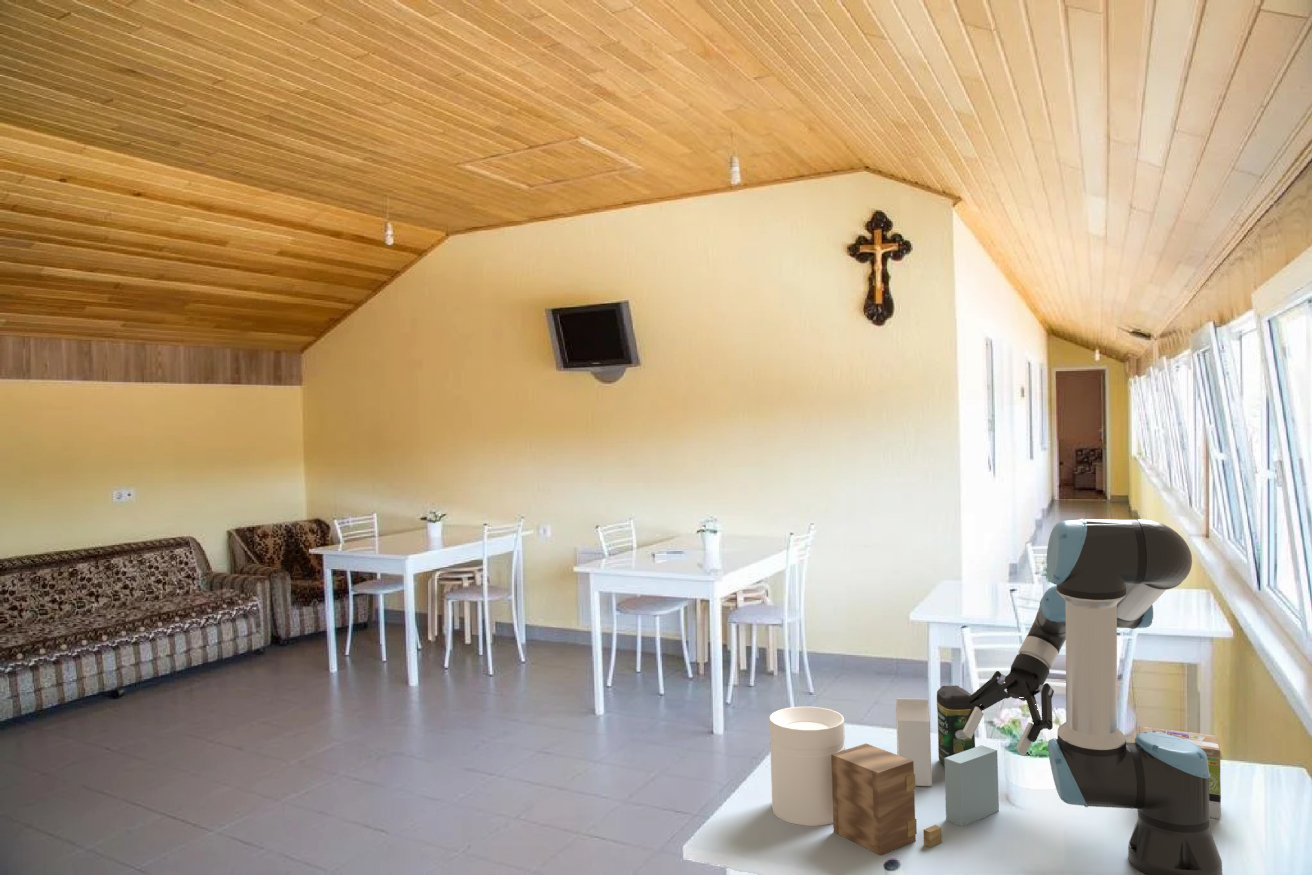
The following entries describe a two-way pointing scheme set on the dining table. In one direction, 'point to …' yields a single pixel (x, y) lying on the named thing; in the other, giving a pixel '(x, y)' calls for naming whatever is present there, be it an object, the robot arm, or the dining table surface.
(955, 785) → the door
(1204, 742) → the tea box
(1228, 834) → the dining table surface
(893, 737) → the dining table surface
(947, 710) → the coffee jar
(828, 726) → the canister
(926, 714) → the milk carton
